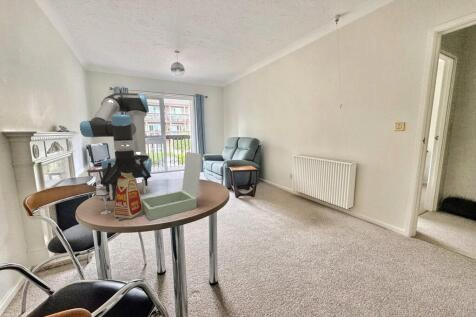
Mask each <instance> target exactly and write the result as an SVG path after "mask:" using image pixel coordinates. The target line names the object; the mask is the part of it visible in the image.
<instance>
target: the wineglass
mask: <svg viewBox="0 0 476 317" xmlns="http://www.w3.org/2000/svg"><path fill="white" fill-rule="evenodd" d="M95 191H96V192H95V195H96V197H97V198H99V199H101V200H102V199H103V200H102V201H104V207H105V210H103V211H101V212H100V215H107V214H110V213H113V210H111V209H110V210H109V209H108V208H107V200H106V199H107V198H109V197H110V192H107V191H106V187H104V186H100V187H97V188H95ZM112 193H113V190H112Z"/></svg>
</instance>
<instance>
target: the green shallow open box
mask: <svg viewBox="0 0 476 317" xmlns="http://www.w3.org/2000/svg"><path fill="white" fill-rule="evenodd" d="M141 201H142V208H143V213H144V216H145V217H147V218H148V220H149V221H152V220H153V221H154V220H157V219H160V218H165V217H169V216H172V215H176V214H179V213H184V212H187V211H191V210H196V209H197V198H195V197H193V196H191V195H190V194H188V193H186V192H184V191H182V190H180V191H179V190H178V191H173V192H169V193H163V194H159V195H153V196H148V197H143V198H141Z"/></svg>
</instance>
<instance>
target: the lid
mask: <svg viewBox="0 0 476 317" xmlns="http://www.w3.org/2000/svg"><path fill="white" fill-rule="evenodd" d="M185 152H186V153H185V162H184V169H183V178H182V179H183V180H182V187H181V191H184V192H185V193H187V194H189V195H191V196H193V197H194V198H196V199H198V194H199V186H200V176H201V168H202V159H203V158H205V156H204V154H203V153H202V154H201V153H195V152H192V151H191V152H189V151H185Z"/></svg>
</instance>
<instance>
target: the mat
mask: <svg viewBox="0 0 476 317" xmlns="http://www.w3.org/2000/svg"><path fill="white" fill-rule="evenodd" d="M143 216H145V213H144V212H143V211H142V212H141V213H139V214H137V215H136V216H134V217H132V218H124V217H117V218H118V220H119V222H122V221H126V220H130V219H133V218H137V217H143Z"/></svg>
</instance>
